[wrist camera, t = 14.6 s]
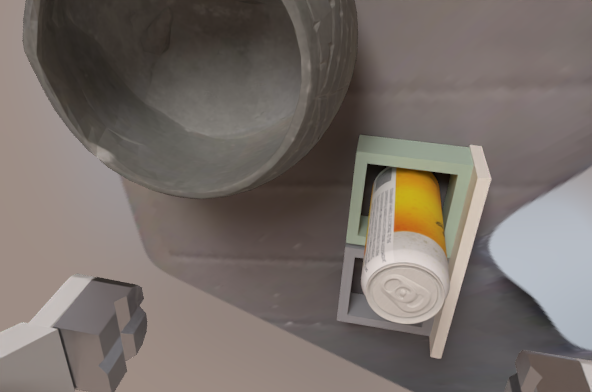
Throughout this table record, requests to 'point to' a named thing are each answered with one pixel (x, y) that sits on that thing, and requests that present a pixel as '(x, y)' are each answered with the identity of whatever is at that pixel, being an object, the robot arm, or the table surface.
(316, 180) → the table surface
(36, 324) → the robot arm
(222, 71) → the bowl
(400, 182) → the beer can
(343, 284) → the holder board
